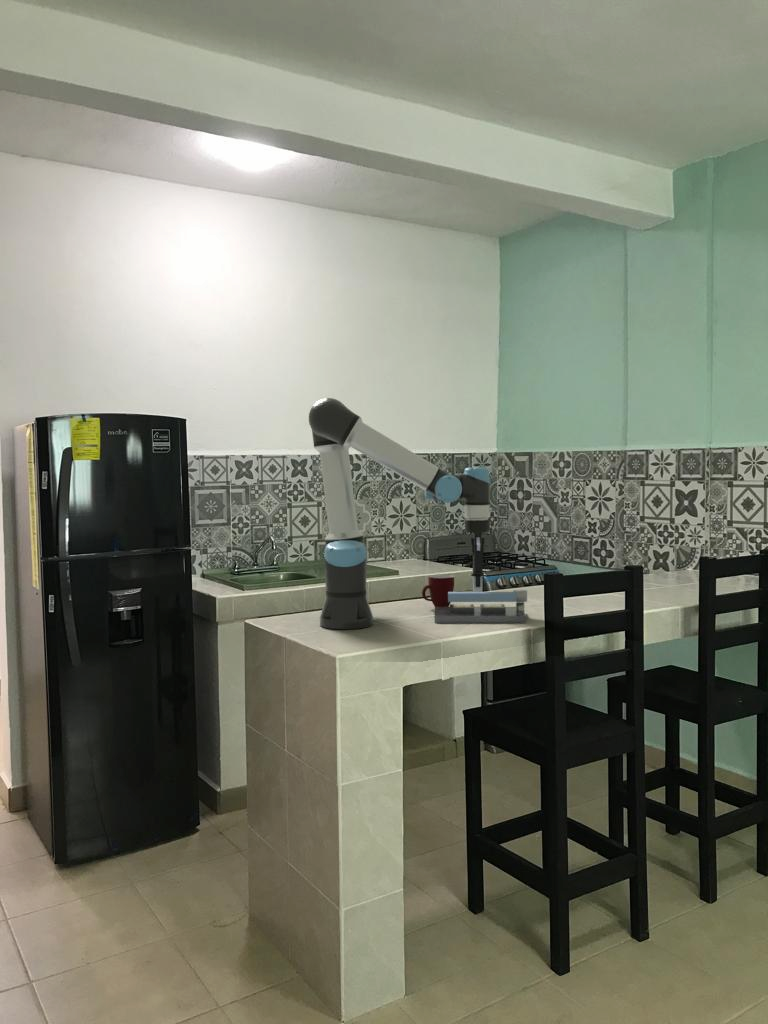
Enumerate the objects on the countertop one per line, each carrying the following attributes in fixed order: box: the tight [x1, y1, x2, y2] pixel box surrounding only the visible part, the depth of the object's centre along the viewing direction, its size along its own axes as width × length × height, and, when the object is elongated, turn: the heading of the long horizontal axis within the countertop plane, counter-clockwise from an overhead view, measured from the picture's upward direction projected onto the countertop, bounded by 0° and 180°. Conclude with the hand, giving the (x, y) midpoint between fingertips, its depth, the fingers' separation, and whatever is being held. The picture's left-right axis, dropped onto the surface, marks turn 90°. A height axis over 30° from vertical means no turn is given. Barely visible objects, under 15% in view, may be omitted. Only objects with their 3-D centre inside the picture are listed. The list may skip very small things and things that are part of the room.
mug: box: [421, 574, 455, 608], centre depth 263 cm, size 10×8×10 cm
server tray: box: [434, 602, 527, 624], centre depth 246 cm, size 26×15×4 cm, turn 86°
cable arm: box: [448, 589, 528, 603], centre depth 246 cm, size 23×4×3 cm, turn 86°
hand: (477, 597), depth 253 cm, fingers closed
